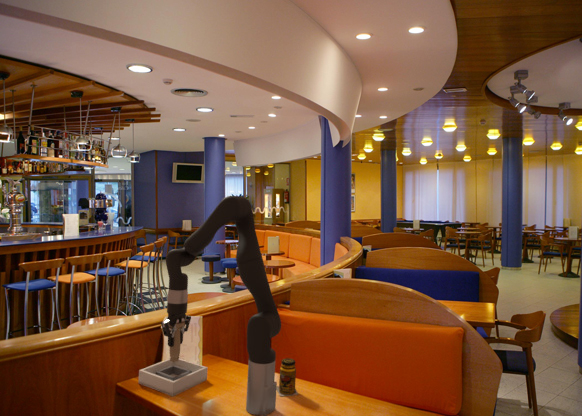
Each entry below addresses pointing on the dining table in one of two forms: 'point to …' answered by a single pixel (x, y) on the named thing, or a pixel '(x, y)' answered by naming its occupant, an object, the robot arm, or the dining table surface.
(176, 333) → the handle
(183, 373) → the box
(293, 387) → the condiment
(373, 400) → the dining table surface
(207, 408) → the dining table surface
